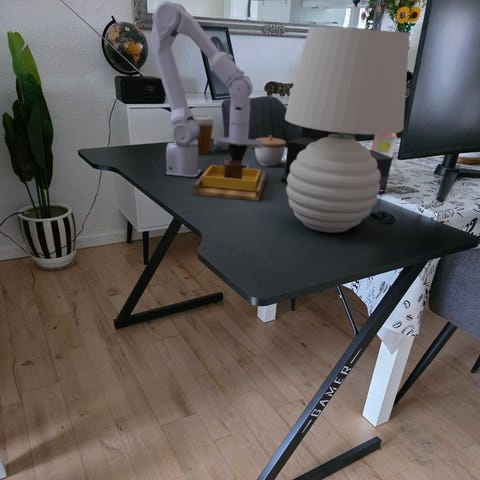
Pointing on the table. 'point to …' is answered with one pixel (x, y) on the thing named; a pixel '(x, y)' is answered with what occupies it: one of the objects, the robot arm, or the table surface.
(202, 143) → the disposable coffee cup
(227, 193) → the board
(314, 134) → the bookend
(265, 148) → the trinket box
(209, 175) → the tray
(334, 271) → the table surface
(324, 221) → the table lamp
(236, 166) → the block
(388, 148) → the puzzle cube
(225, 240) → the table surface
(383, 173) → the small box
